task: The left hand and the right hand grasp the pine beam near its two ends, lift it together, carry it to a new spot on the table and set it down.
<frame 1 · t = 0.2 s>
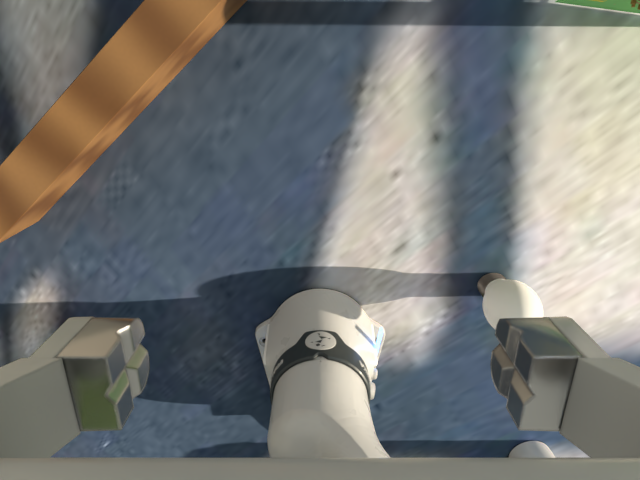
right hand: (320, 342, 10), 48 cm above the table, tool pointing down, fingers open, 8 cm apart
beam: (183, 33, 51), on the table
light bulb: (492, 283, 63), on the table
coffee cup: (528, 455, 75), on the table
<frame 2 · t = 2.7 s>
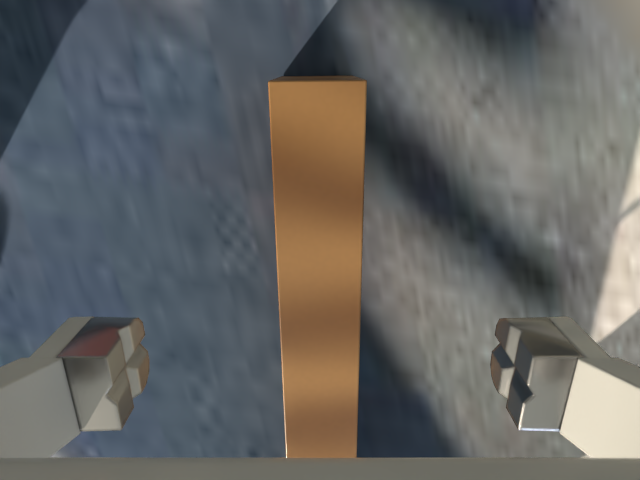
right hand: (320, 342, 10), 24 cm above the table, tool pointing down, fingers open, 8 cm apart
beam: (321, 434, 42), on the table, touching left hand
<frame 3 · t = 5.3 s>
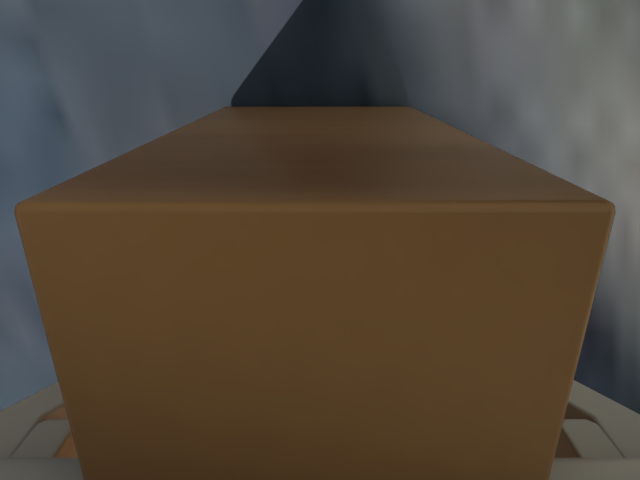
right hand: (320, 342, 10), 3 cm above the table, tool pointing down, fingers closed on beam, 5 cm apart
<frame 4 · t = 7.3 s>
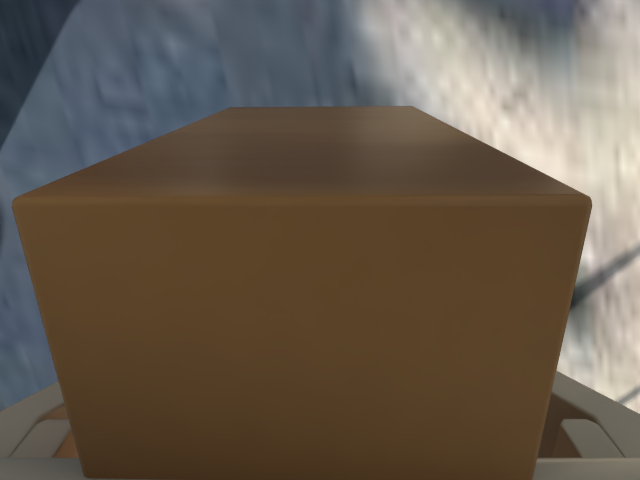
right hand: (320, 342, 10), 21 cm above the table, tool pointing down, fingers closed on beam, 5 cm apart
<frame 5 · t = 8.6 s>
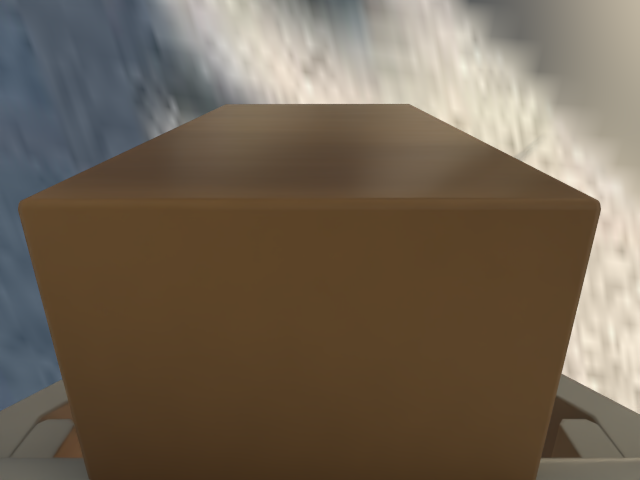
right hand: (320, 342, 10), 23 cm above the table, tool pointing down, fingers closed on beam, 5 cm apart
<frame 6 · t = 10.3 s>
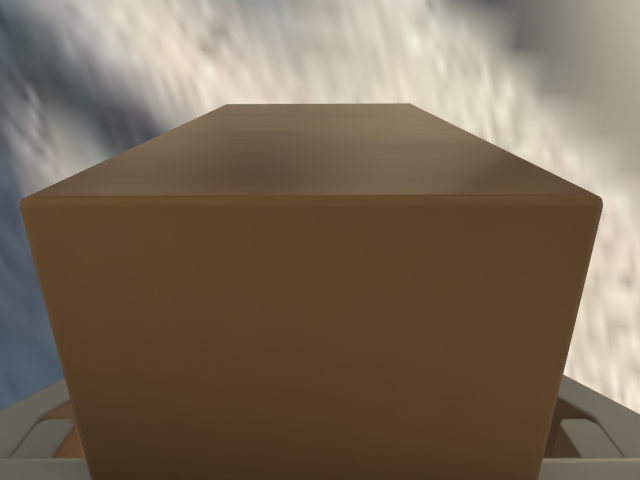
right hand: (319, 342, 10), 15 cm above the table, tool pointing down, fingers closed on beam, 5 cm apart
when the left hand's fingers open (4 cm above the table, at t = 12.0 s): beam stays where it is, on the table.
when the right hand's fingers open (4 cm above the table, at t = 12.0 s): beam stays where it is, on the table.
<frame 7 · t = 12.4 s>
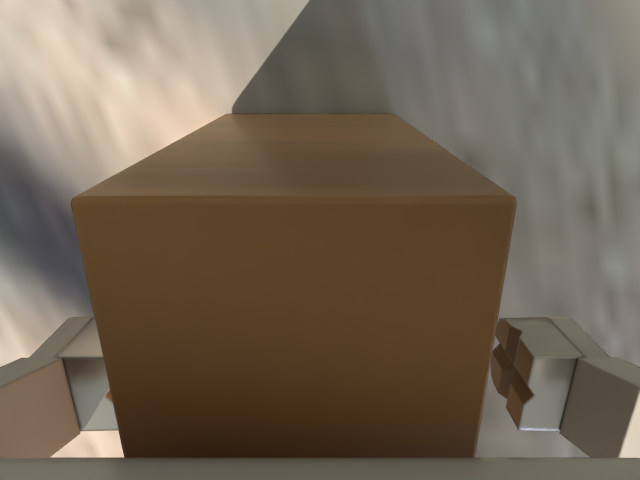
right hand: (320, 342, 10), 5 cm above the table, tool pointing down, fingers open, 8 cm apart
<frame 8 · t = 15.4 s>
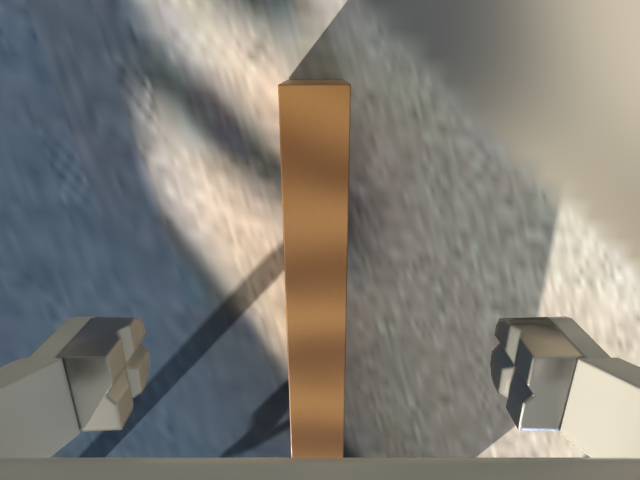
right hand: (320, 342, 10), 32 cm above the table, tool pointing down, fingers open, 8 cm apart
beam: (317, 379, 50), on the table
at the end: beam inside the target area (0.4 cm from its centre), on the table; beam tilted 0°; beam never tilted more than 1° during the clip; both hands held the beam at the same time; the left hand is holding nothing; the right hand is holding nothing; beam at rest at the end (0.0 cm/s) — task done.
